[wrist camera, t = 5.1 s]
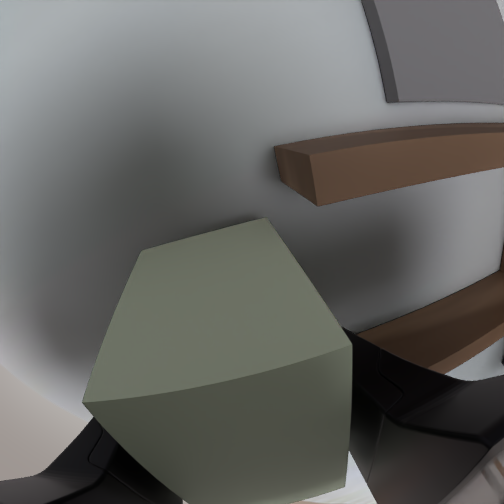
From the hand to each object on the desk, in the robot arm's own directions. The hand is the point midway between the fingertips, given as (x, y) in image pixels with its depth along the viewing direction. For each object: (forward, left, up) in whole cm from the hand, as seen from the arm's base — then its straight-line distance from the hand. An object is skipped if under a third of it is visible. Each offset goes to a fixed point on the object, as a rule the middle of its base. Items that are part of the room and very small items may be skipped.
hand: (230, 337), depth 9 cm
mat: (+10, -12, -2) cm, 16 cm away
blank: (0, 0, -1) cm, 1 cm away
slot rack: (0, -10, -2) cm, 10 cm away
